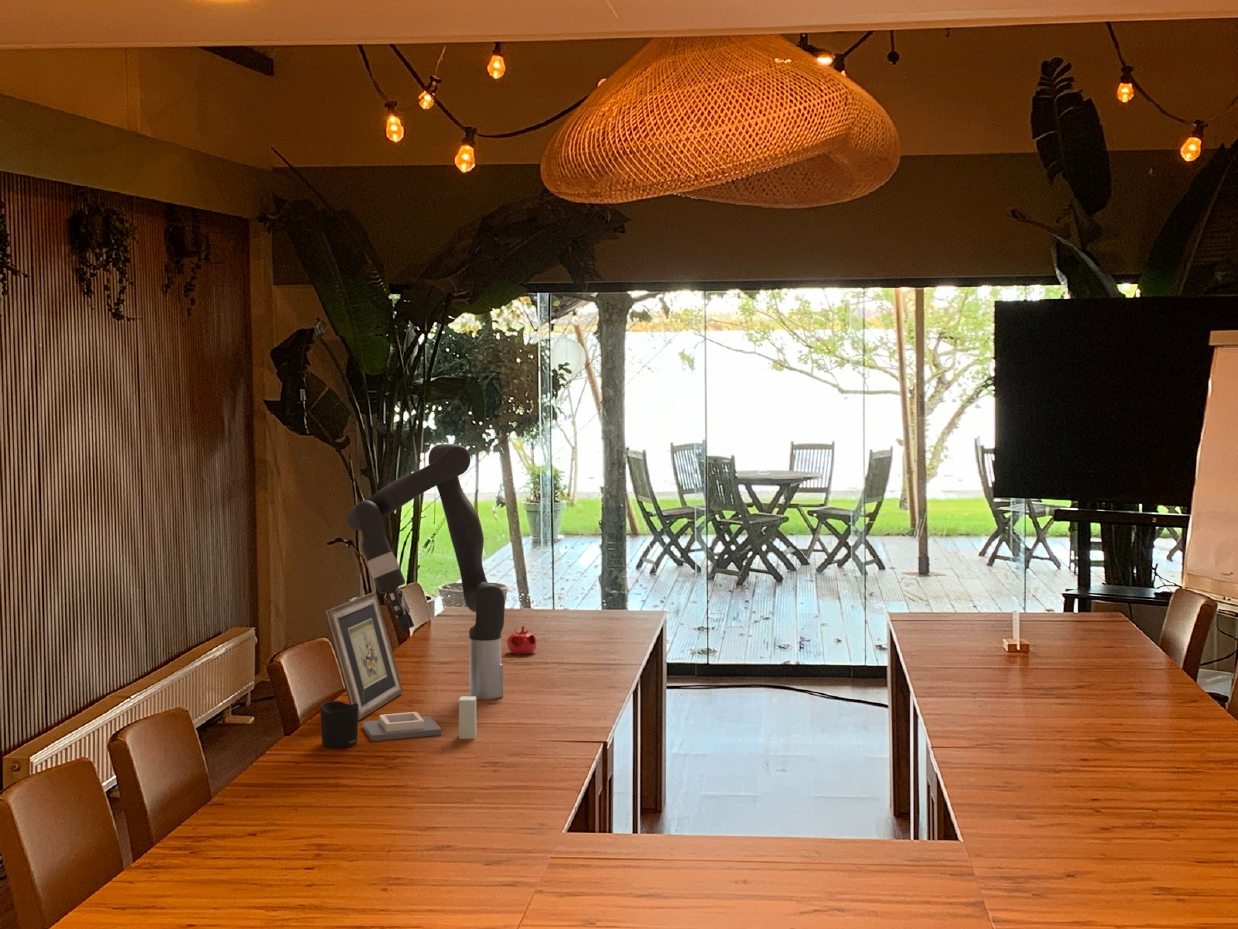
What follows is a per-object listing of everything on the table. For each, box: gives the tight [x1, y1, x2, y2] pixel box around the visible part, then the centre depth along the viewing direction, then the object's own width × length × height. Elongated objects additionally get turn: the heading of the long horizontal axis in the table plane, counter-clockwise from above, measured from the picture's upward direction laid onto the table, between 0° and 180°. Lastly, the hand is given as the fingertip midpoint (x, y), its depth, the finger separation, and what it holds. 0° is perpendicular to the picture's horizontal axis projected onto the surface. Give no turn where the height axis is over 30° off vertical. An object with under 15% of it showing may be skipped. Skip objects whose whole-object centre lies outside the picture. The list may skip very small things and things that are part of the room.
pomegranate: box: [506, 625, 537, 656], centre depth 429 cm, size 10×10×9 cm
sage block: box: [458, 695, 477, 740], centre depth 325 cm, size 4×4×10 cm
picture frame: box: [324, 591, 404, 722], centre depth 355 cm, size 33×10×30 cm, turn 168°
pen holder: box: [319, 700, 359, 750], centre depth 317 cm, size 9×9×10 cm
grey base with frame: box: [362, 711, 443, 742], centre depth 330 cm, size 18×14×4 cm
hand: (408, 628), depth 338 cm, fingers open, 8 cm apart
